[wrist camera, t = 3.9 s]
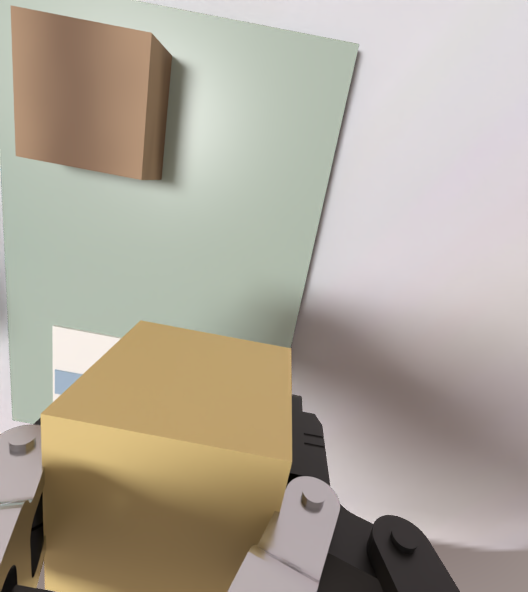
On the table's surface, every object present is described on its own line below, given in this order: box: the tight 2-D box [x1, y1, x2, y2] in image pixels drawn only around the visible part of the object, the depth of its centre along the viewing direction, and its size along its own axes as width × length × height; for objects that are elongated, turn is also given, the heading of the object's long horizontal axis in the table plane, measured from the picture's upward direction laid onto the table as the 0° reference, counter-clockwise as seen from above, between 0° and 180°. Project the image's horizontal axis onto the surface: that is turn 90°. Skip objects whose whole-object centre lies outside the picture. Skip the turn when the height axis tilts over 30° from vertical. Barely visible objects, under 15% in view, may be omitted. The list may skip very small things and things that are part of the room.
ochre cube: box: [40, 320, 292, 592], centre depth 10 cm, size 5×5×5 cm
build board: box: [0, 0, 359, 424], centre depth 22 cm, size 18×26×1 cm
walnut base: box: [10, 5, 172, 180], centre depth 18 cm, size 6×6×3 cm
